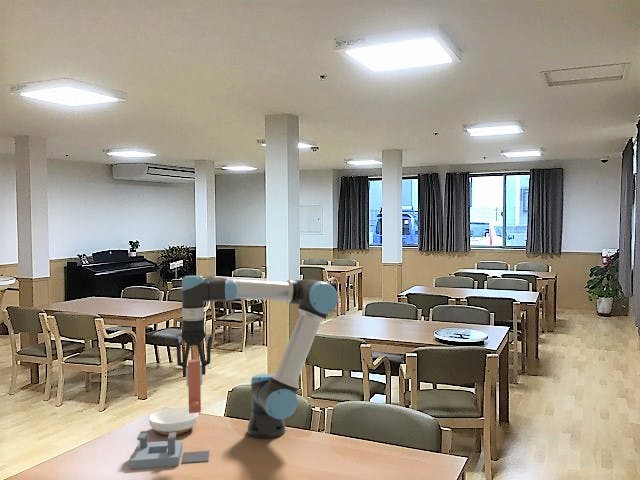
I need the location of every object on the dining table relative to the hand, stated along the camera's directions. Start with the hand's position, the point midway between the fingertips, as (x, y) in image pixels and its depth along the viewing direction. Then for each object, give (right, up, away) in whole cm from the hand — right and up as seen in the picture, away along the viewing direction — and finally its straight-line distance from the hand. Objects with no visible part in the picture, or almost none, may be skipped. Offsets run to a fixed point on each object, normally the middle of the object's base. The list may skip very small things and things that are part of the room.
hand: (194, 384), depth 203 cm
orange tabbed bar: (0, -10, 0) cm, 10 cm away
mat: (0, -26, +1) cm, 26 cm away
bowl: (-15, -26, +29) cm, 41 cm away
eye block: (-13, -27, 0) cm, 30 cm away
